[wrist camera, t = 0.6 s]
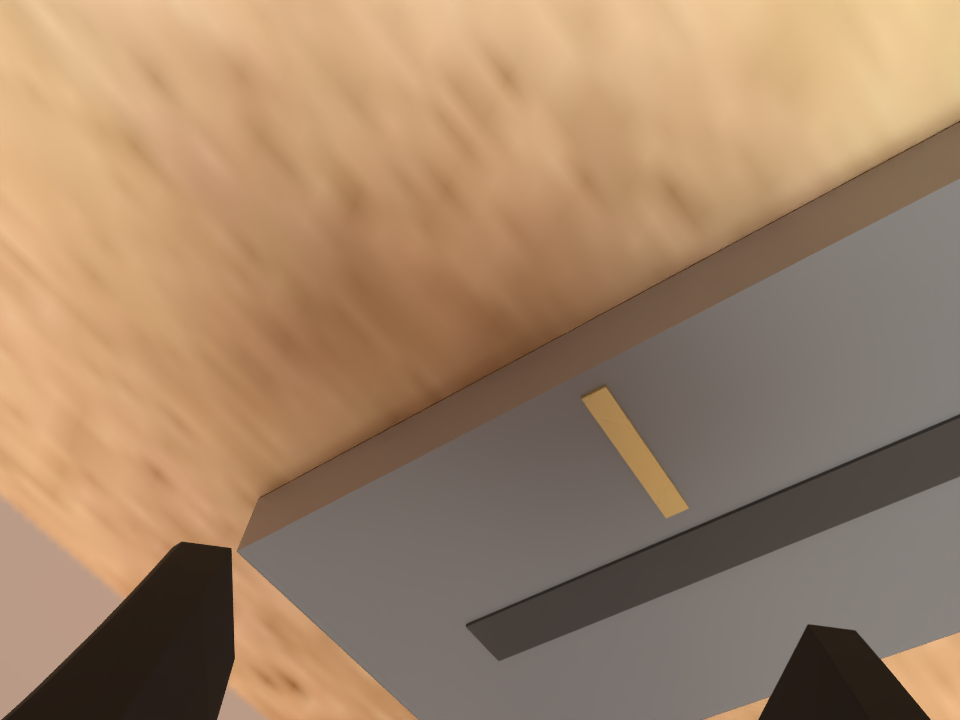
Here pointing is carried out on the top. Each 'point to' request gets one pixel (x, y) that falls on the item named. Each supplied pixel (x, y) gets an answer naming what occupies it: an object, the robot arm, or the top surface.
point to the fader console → (666, 482)
